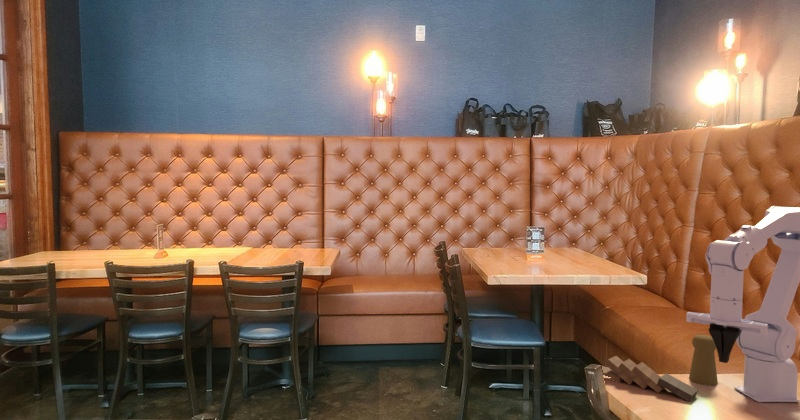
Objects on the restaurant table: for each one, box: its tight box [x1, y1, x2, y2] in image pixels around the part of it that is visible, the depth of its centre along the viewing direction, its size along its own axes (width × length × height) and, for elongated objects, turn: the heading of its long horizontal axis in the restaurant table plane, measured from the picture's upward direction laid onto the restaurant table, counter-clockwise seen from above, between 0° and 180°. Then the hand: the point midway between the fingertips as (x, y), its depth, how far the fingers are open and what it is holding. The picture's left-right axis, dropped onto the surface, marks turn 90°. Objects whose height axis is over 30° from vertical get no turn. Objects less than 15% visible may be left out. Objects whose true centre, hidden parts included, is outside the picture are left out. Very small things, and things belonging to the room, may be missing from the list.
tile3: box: [618, 358, 650, 390], centre depth 123 cm, size 2×4×7 cm
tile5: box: [601, 365, 624, 383], centre depth 128 cm, size 2×4×7 cm
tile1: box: [657, 372, 699, 402], centre depth 116 cm, size 2×4×7 cm
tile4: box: [604, 355, 635, 386], centre depth 125 cm, size 2×4×7 cm
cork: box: [688, 334, 719, 386], centre depth 125 cm, size 6×6×11 cm
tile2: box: [632, 361, 666, 394], centre depth 120 cm, size 2×4×7 cm
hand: (723, 361), depth 110 cm, fingers closed
